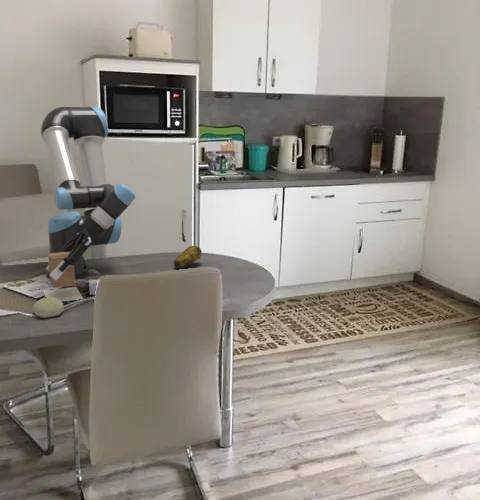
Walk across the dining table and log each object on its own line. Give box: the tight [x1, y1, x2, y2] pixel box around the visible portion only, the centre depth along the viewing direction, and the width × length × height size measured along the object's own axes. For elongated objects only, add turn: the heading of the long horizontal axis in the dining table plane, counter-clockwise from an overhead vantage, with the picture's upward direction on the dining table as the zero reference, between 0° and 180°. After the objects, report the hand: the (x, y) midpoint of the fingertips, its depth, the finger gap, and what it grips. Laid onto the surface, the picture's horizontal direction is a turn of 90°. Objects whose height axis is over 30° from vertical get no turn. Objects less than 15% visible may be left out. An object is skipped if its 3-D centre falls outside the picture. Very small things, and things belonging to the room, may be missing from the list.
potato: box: [173, 245, 202, 269], centre depth 227 cm, size 8×13×8 cm, turn 120°
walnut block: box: [47, 251, 76, 289], centre depth 188 cm, size 7×7×10 cm
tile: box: [43, 286, 84, 301], centre depth 191 cm, size 11×11×1 cm
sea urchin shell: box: [32, 297, 65, 318], centre depth 177 cm, size 9×8×8 cm
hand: (51, 274), depth 187 cm, fingers closed on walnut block, 7 cm apart
